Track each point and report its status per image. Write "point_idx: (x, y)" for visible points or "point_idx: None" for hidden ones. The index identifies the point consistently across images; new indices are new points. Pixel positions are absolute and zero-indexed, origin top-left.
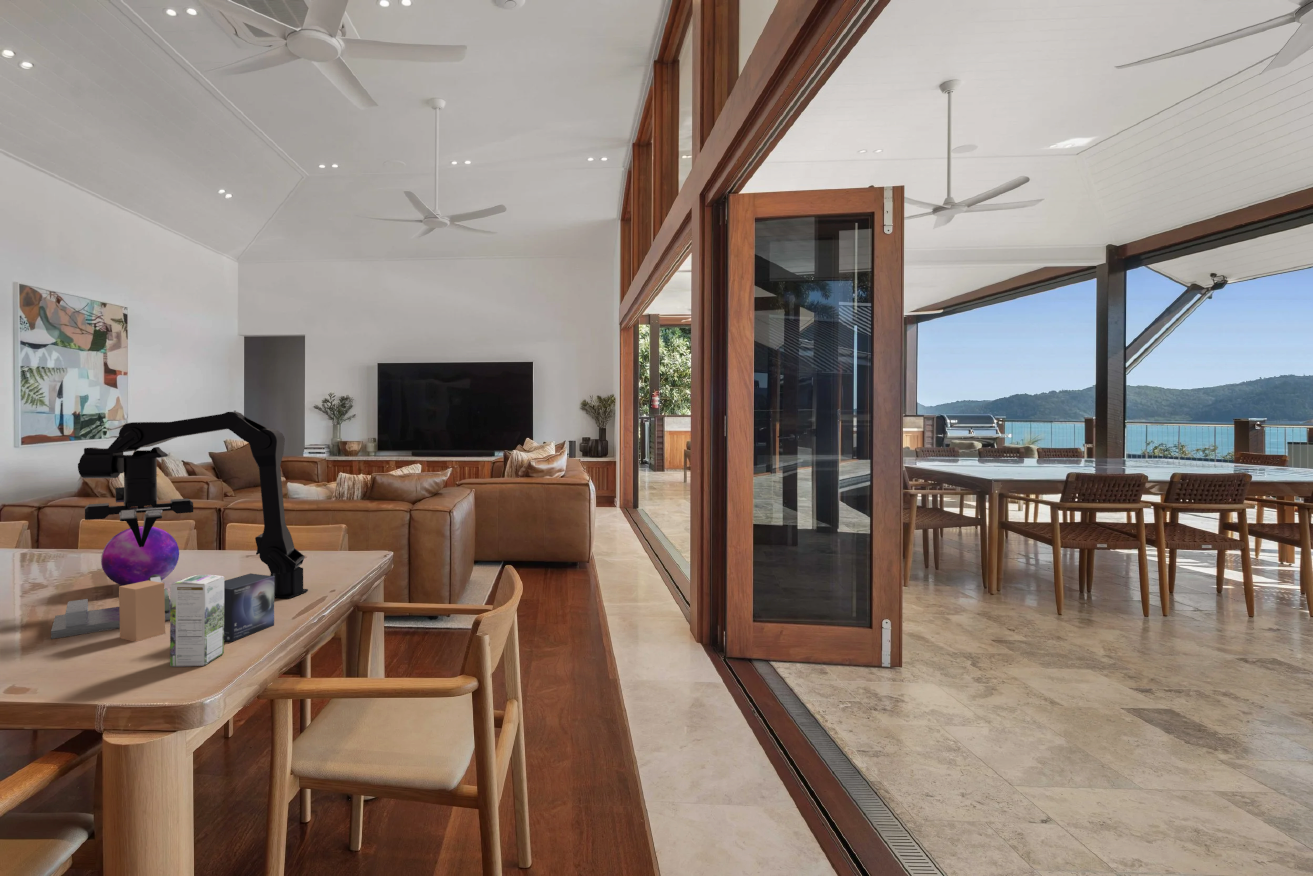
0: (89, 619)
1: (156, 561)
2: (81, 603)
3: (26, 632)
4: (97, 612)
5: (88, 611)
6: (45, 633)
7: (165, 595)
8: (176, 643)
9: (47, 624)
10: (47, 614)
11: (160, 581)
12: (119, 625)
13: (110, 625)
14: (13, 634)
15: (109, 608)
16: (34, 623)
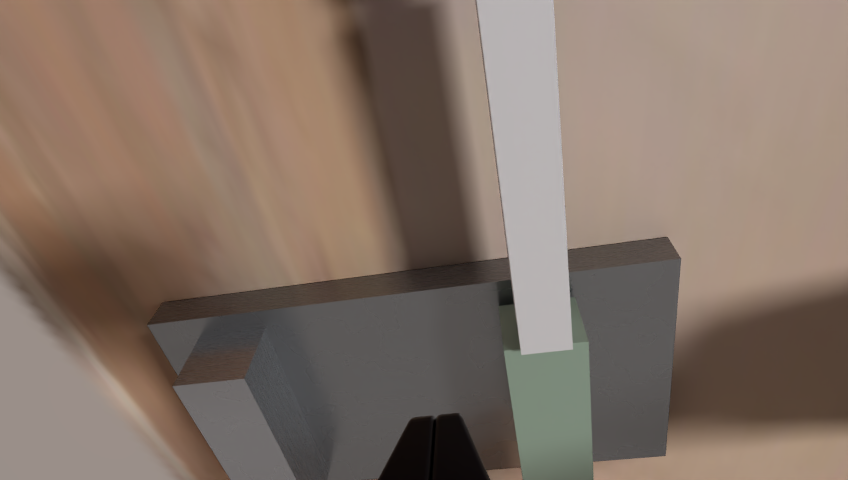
0: (316, 426)
1: None
2: (254, 439)
3: (125, 371)
4: (308, 350)
5: (261, 319)
6: None
7: (580, 461)
8: None
9: (139, 305)
10: (19, 128)
11: (558, 184)
12: None
13: None
14: (93, 375)
15: (337, 311)
16: (70, 268)
